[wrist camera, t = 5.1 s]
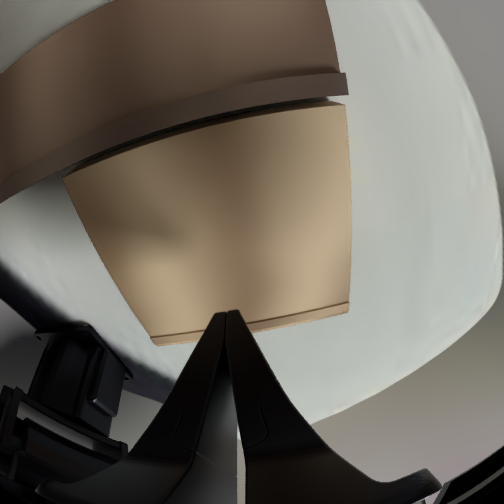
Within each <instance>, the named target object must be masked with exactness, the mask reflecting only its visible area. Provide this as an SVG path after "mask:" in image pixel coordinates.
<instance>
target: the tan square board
mask: <svg viewBox="0 0 504 504" xmlns="http://www.w3.org/2000/svg"><path fill="white" fill-rule="evenodd" d="M62 179H63V182H64V184H65V186H66V189H67V191H68V193H69V196H70V198H71V200H72V202H73V205H74V207H75V209H76V211H77V213H78V215H79V217H80V219H81V221H82V224H83V226H84V228H85V230H86V232H87V234H88V235H89V237H90V239H91V241H92V243H93V245H94V247H95V249H96V251H97V252H98V254H99V256H100V258H101V260H102V262H103V263H104V265H105V267H106V269H107V270H108V272H109V274H110V275H111V277H112V279H113V281H114V282H115V284H116V285H117V287H118V289H119V290H120V292H121V294H122V295H123V297H124V298H125V300H126V302H127V303H128V305H129V306H130V308H131V309H132V311H133V312H134V314H135V315H136V317H137V318H138V320H139V321H140V323H141V324H142V326H143V327H144V329H145V330H146V331H147V333H148V334H149V336H150V339H151V340H152V342H153V343H154V344H155V345H157V346H164V345H173V344H182V343H190V342H197V341H199V340H200V338H201V336H202V334H203V332H204V331H205V329H206V327H207V325H208V324H209V322H210V320H211V318H212V316H213V315H214V313H216V312H222V311H226V312H227V311H228V310H234V309H238V310H239V311H240V313H241V315H242V316H243V318H244V320H245V322H246V324H247V326H248V328H249V329H250V331H251V333H255V332H261V331H266V330H271V329H276V328H281V327H286V326H291V325H296V324H301V323H305V322H310V321H315V320H319V319H323V318H328V317H332V316H336V315H340V314H344V313H348V310H349V293H350V275H351V246H352V200H351V171H350V154H349V140H348V128H347V118H346V109H345V105H344V104H340V103H337V102H333V101H323V102H314V103H305V104H297V105H290V106H283V107H276V108H270V109H264V110H258V111H253V112H248V113H243V114H238V115H233V116H229V117H224V118H220V119H215V120H211V121H207V122H203V123H199V124H196V125H192V126H188V127H185V128H181V129H178V130H174V131H171V132H168V133H164V134H161V135H158V136H155V137H152V138H149V139H146V140H143V141H140V142H137V143H134V144H131V145H129V146H126V147H123V148H120V149H118V150H115V151H113V152H110V153H107V154H105V155H102V156H100V157H98V158H95V159H93V160H90V161H88V162H86V163H84V164H81V165H79V166H77V167H76V168H75V169H73V170H72V171H71V172H69V173H68V174H67V175H66V176H64V177H63V178H62Z"/></svg>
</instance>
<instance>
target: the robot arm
mask: <svg viewBox="0 0 504 504" xmlns="http://www.w3.org/2000/svg"><path fill="white" fill-rule="evenodd" d="M34 337H35V338H36V340H37V341H38V342H39V343H40V344H41V345H42V346H43V347H44V352H43V354H42V356H41V359H40V361H39V364H38V366H37V369H36V371H35V374H34V377H33V379H32V382H31V385H30V388H29V390H28V393H27V394H25V393H24V392H23V390H21V389H20V388H18V387H17V386H16V387H15V388H14V389H12V388H10V387H7V386H5V385H4V386H3V388H2V390H1V393H0V504H237V477H236V476H237V420H238V425H239V431H240V437H241V441H242V447H243V450H244V451H243V452H244V457H245V466H246V484H245V486H246V487H245V490H246V491H245V493H246V494H245V504H426V503H425V498H427V497H429V496H430V495H432V494H434V493H436V492H437V491H439V490H440V489H441V488H442V490H441V491H440V493H439V494H438V496H437V498H436V500H435V502H434V503H433V504H504V446H502V447H501V448H499V449H498V450H496V451H495V452H494V453H492V454H491V455H490V456H488V457H487V458H485V459H484V460H482V461H481V462H479V463H478V464H476V465H475V466H473V467H472V468H470V469H468V470H467V471H465V472H463V473H462V474H460V475H458V476H457V477H455V478H453V479H451V480H450V481H448V482H446V483H444V485H443V487H442V485H441V483H440V482H439V481H438V480H437V479H436V478H435V477H434V476H433V475H432V474H431V473H430V471H429V470H428V469H422V470H419V471H417V472H415V473H412V474H410V475H408V476H405V477H403V478H400V479H398V480H395V481H392V482H379V481H375V480H373V479H371V478H370V477H368V476H367V475H366V474H364V473H363V472H361V471H360V470H358V469H357V468H356V467H354V466H353V465H352V464H350V463H349V462H347V461H346V460H345V459H344V458H342V457H341V456H340V455H338V454H337V453H336V452H335V451H333V450H332V449H331V448H330V447H329V446H328V445H327V444H326V443H325V442H324V441H323V439H321V437H320V436H319V435H318V434H317V433H316V432H315V430H314V429H313V428H312V427H311V426H310V425H309V423H308V422H307V421H306V420H305V419H304V418H303V416H302V415H301V414H300V413H299V411H298V410H297V409H296V408H295V406H294V405H293V404H292V402H291V401H290V399H289V398H288V396H287V395H286V393H285V392H284V390H283V388H282V387H281V385H280V383H279V381H278V380H277V378H276V376H275V375H274V373H273V371H272V369H271V368H270V366H269V364H268V362H267V360H266V359H265V357H264V355H263V353H262V351H261V350H260V348H259V346H258V344H257V342H256V340H255V339H254V337H253V335H252V333H251V331H250V329H249V328H248V326H247V324H246V322H245V320H244V318H243V316H242V315H241V313H240V311H239V310H238V309H234V310H228V311H227V312H226V311H222V312H216V313H214V315H213V316H212V318H211V320H210V322H209V324H208V325H207V327H206V329H205V331H204V332H203V334H202V336H201V338H200V340H199V341H198V343H197V345H196V347H195V349H194V350H193V352H192V354H191V356H190V357H189V359H188V361H187V363H186V365H185V366H184V368H183V370H182V372H181V374H180V375H179V377H178V379H177V381H176V383H175V384H174V386H173V388H172V390H171V391H172V392H170V393H169V395H168V397H167V398H166V400H165V402H164V404H163V405H162V407H161V409H160V410H159V412H158V413H157V415H156V416H155V418H154V419H153V421H152V422H151V424H150V425H149V426H148V428H147V429H146V431H145V432H144V433H143V435H142V436H141V437H140V439H139V440H138V442H137V443H136V444H135V445H134V447H133V448H132V449H131V451H130V452H129V453H128V445H127V444H126V443H124V442H121V441H116V440H113V439H111V438H108V437H109V434H110V428H111V422H112V417H116V415H117V412H118V407H119V402H120V396H121V391H122V387H123V382H131V381H132V379H133V375H132V373H131V372H130V371H129V370H128V369H127V368H126V367H125V366H124V365H123V364H122V363H121V361H120V360H119V359H118V358H117V357H116V356H115V355H114V353H113V352H112V351H111V350H110V349H109V348H108V346H107V345H106V344H105V343H104V342H103V340H102V339H101V338H100V337H99V335H98V334H97V333H96V332H95V330H94V329H93V328H91V327H89V326H78V327H67V328H56V329H44V330H36V332H35V334H34ZM17 412H18V413H20V414H21V415H23V416H25V417H26V418H25V419H24V420H21V419H20V418H18V417H17Z"/></svg>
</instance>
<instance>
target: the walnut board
mask: <svg viewBox="0 0 504 504" xmlns="http://www.w3.org/2000/svg"><path fill="white" fill-rule="evenodd" d="M340 95H349V94H348V86H347V79H346V73H340V69H339V63H338V58H337V52H336V47H335V42H334V37H333V32H332V27H331V23H330V18H329V14H328V10H327V6H326V2H325V0H115V1H113V2H111V3H109V4H107V5H104V6H102V7H100V8H98V9H96V10H94V11H92V12H90V13H89V14H87V15H85V16H83V17H81V18H79V19H78V20H76V21H74V22H72V23H71V24H69V25H67V26H66V27H64V28H62V29H61V30H59V31H58V32H56V33H55V34H53V35H52V36H50V37H49V38H47V39H46V40H44V41H43V42H41V43H40V44H38V45H37V46H36V47H34V48H33V49H32V50H30V51H29V52H28V53H26V54H25V55H24V56H22V57H21V58H20V59H19V60H17V61H16V62H15V63H14V64H13V65H11V66H10V67H9V68H8V69H7V70H6V71H4V72H3V73H2V74H1V75H0V203H2V202H3V201H5V200H7V199H8V198H10V197H12V196H13V195H15V194H17V193H18V192H20V191H22V190H23V189H25V188H27V187H29V186H30V185H32V184H34V183H36V182H38V181H40V180H41V179H43V178H45V177H47V176H49V175H51V174H53V173H55V172H57V171H59V170H61V169H63V168H65V167H67V166H69V165H71V164H74V163H76V162H78V161H80V160H82V159H85V158H87V157H89V156H91V155H94V154H96V153H99V152H101V151H103V150H106V149H108V148H111V147H113V146H116V145H118V144H121V143H124V142H126V141H129V140H132V139H135V138H138V137H140V136H143V135H146V134H149V133H152V132H155V131H158V130H161V129H165V128H168V127H171V126H175V125H178V124H181V123H185V122H189V121H192V120H196V119H200V118H204V117H208V116H212V115H216V114H220V113H224V112H229V111H234V110H238V109H243V108H248V107H254V106H259V105H265V104H271V103H277V102H284V101H291V100H299V99H307V98H317V97H327V96H340Z"/></svg>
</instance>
